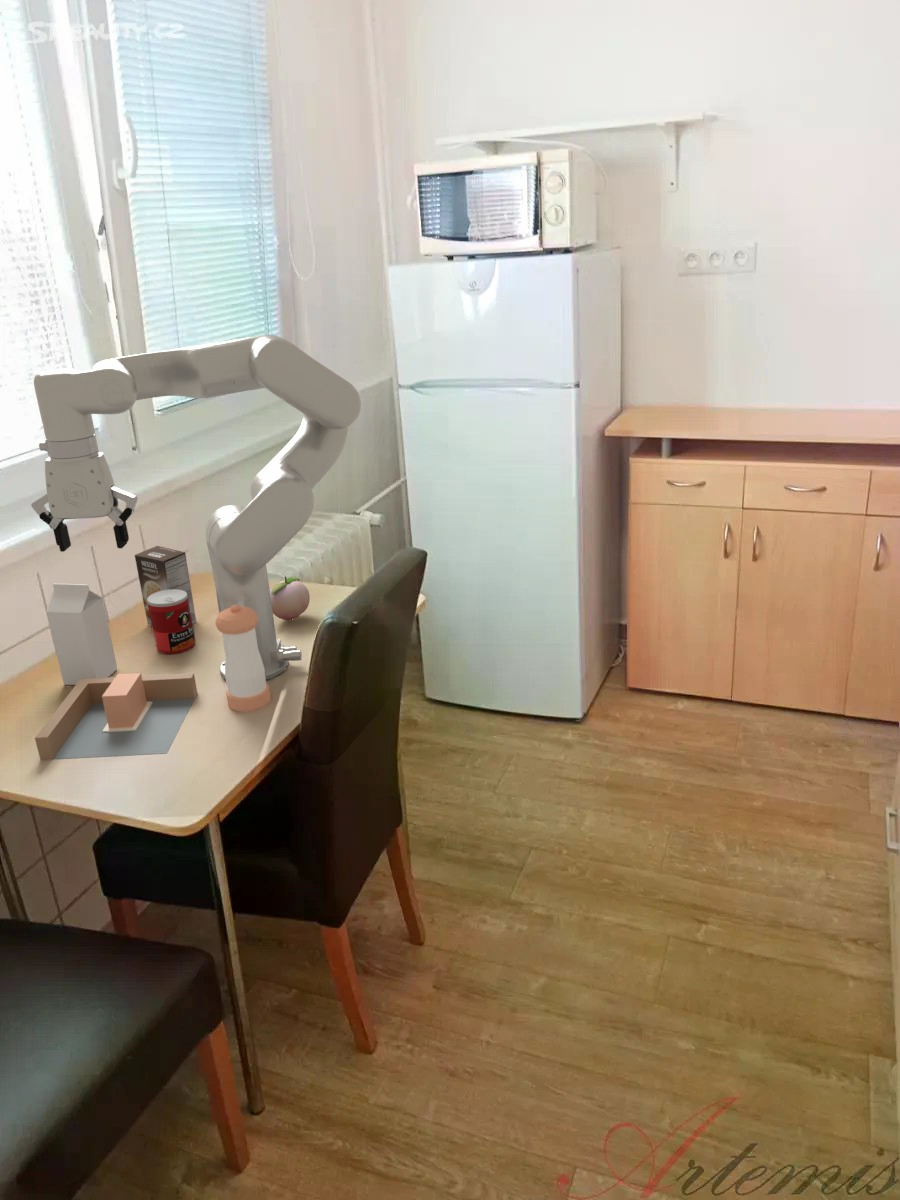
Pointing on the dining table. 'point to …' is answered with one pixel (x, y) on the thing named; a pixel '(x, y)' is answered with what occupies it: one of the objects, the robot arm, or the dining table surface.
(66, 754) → the arena board
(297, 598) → the decorative fruit
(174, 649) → the canned food
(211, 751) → the dining table surface
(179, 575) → the coffee box
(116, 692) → the terracotta block
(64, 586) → the milk carton
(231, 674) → the pepper shaker
